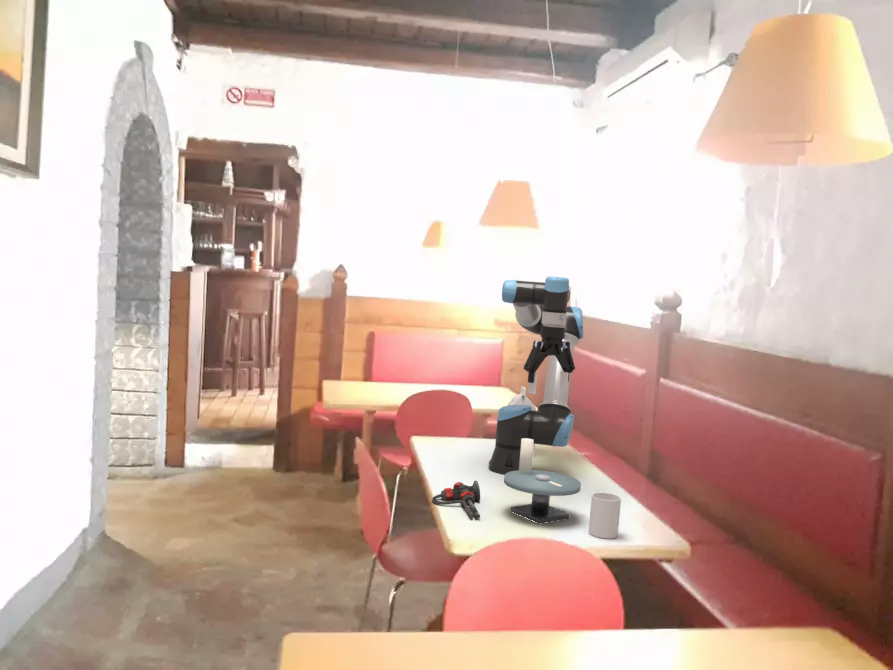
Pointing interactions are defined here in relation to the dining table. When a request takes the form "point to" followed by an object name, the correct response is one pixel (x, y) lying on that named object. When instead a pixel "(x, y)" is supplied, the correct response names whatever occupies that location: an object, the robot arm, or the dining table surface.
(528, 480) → the handwheel
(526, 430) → the robot arm
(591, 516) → the mug
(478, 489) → the dark grey forked tool
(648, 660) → the dining table surface
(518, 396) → the milk
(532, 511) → the square pedestal base
